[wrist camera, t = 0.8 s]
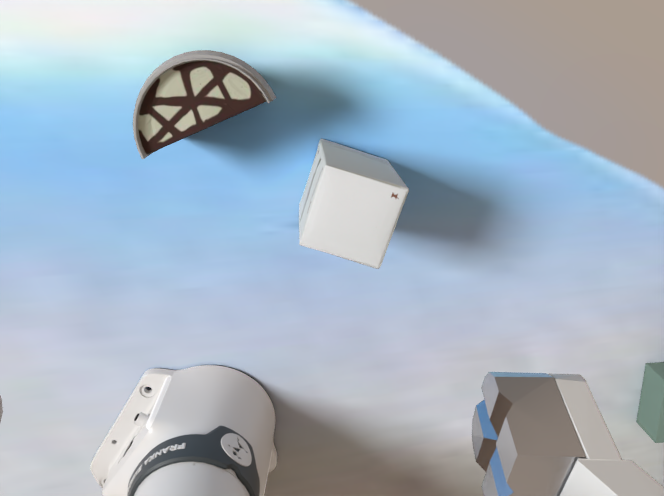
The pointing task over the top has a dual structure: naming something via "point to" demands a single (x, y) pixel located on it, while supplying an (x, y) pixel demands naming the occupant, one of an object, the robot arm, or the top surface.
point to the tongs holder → (652, 402)
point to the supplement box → (350, 204)
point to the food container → (194, 97)
